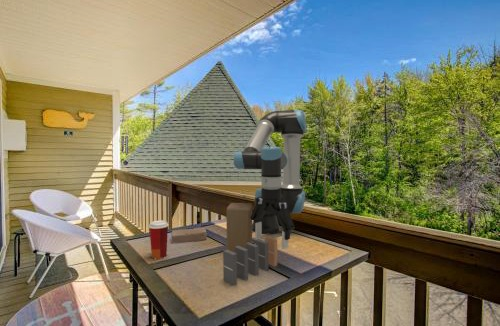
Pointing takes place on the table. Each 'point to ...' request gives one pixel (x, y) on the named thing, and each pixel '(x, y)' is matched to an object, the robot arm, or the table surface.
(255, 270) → the domino
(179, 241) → the brick
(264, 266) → the domino
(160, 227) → the paper cup
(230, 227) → the wooden block
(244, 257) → the domino
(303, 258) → the table surface
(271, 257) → the head domino
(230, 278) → the domino
